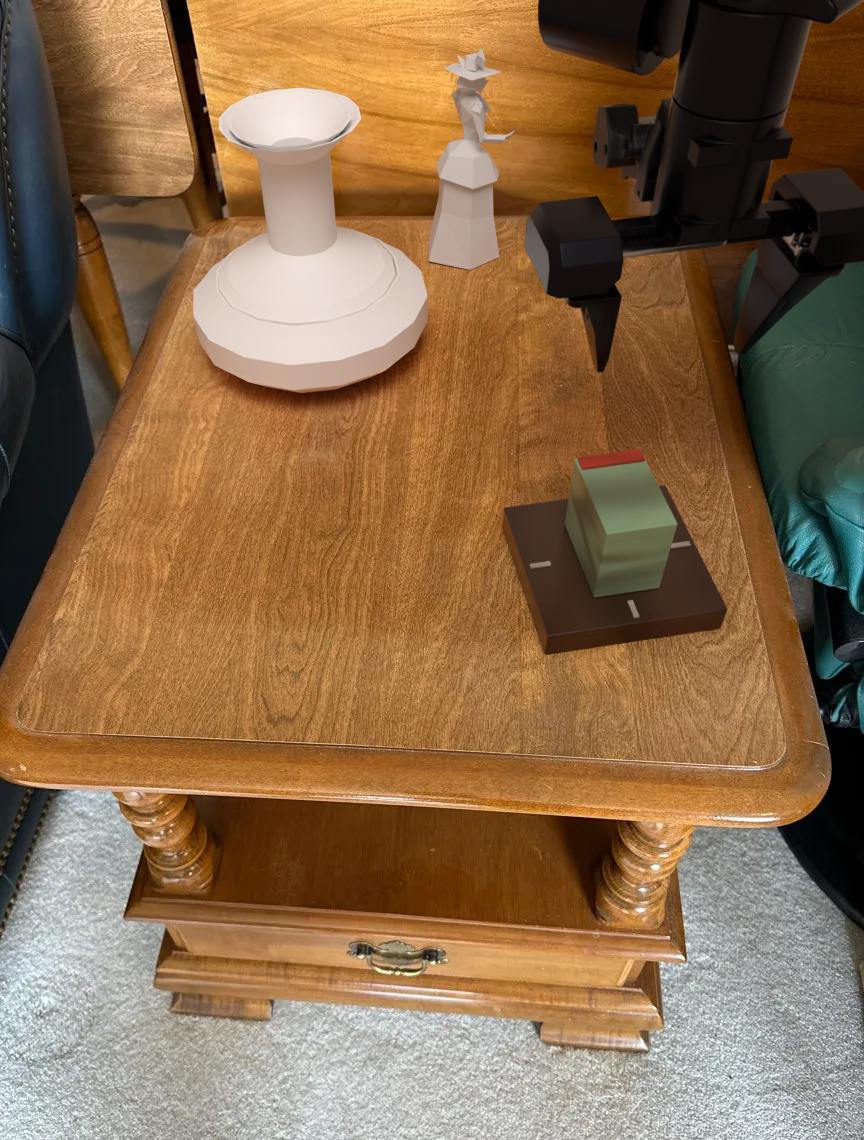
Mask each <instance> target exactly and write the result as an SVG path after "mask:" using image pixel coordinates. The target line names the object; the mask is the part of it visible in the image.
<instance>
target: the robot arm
mask: <svg viewBox="0 0 864 1140" xmlns="http://www.w3.org/2000/svg"><path fill="white" fill-rule="evenodd" d="M863 2H864V0H538V3H537V24H538V30H539V34H540V37H541V40H542V42H543V44H545V45H546V47H547V48H548V49H550V50H553V51H556V52H559V53H563V54H566V55H570V56H572V57H575V58H580V59H583V60H586V61H590V62H592V63H596V64H600V65H604V66H606V67H610V68H613V69H617V70H621V71H624V72H627V73H629V74H634V75H637V76H640V77H641V76H642V77H643V76H647V75H650V74H652V73H653V72H654V71H655V70H656V69H657V68H658V67H659V66H660V65H662V63H663V61H664V60H665V59H666V60H669V59H673V58H674V57H675V56H676V55H677V54H679V57H678V63H677V68H676V73H675V78H674V83H673V88H672V94H671V97H668V98H661V100H660V104H659V106H658V108H657V109H656V115H650V116H649V115H648V116H640V117H639V110H638V105H636V104H635V103H630V104H629V103H625V102H624V103H617V104H616V103H615V104H607V105H598V107H597V112H596V119H595V122H594V123H595V124H594V130H593V136H592V137H593V138H592V139H593V140H592V158H593V159H592V160H593V163H594V165H595V166H596V167H599V168H602V169H606V170H608V169H609V170H610V169H618V168H620V178H621V179H622V180H628V179H629V178H631V179H634V180H635V186H634V191H633V193H634V194H635V196H636V197H637V199H638V200H639V202H640V203H646V202H647V203H648V202H649V205H650V208H649V209H650V210H649V215H644V216H633V217H626V218H618V219H612V218H611V215H610V214H609V213H608V211H607V209H606V208H605V206H604V205H603V203H602V202H601V200H600V198H599V196H598V195H592V196H585V197H576V198H575V197H574V198H565V199H559V200H549V201H541V202H540V201H539V202H538V204H537V205H536V206H535V207H534V208H533V210H532V212H531V213H530V215H529V216H528V217H527V219H526V220H525V231H524V242H523V243H524V244H523V248H524V250H525V252H526V254H527V256H528V258H529V260H530V262H531V265H532V266H533V269H534V271H535V273H536V275H537V277H538V279H539V282H540V283H541V285H542V287H543V290H544V292H545V294H546V295H547V296H550V297H553V298H556V299H559V300H560V299H564V300H565V303H566V305H567V306H569V307H571V308H574V309H580V312H581V317H582V320H583V321H582V322H583V326H584V329H585V335H586V339H587V344H588V349H589V352H590V358H591V361H592V365H593V367H594V369H595V371H596V373H598V374H601V373H604V372H605V370H606V367H607V365H608V363H609V360H610V356H611V352H612V347H613V341H614V337H615V332H616V327H617V323H618V318H619V312H620V307H621V303H622V297H623V296H622V294H621V292H620V290H619V288H618V286H617V285H616V283H617V282H619V281H620V280H621V279H622V272H623V266H624V261H625V260H624V259H627V258H636V257H644V256H652V255H661V254H668V253H677V252H685V251H693V250H694V251H695V250H702V249H710V248H718V247H724V246H726V245H731V244H736V243H737V244H738V243H745V242H747V243H748V242H754V241H757V242H756V243H757V245H756V246H757V247H756V248H757V250H756V252H757V255H756V262H755V266H754V268H753V271H752V275H751V278H750V282H749V284H748V287H747V291H746V294H745V297H744V300H743V304H742V306H741V310H740V313H739V316H738V319H737V323H736V327H735V333H734V338H733V349H734V350H735V352H736V353H737V354H738V355H745V354H747V353H748V352H749V351H750V350H751V349H752V348H753V347H754V346H755V345H756V344H757V343H758V342H759V341H760V340H761V339H762V338H763V337H764V336H765V335H766V334H767V333H768V332H769V331H770V330H771V329H772V328H773V327H774V326H775V325H776V324H777V323H778V322H779V321H780V320H781V319H782V318H783V317H785V316H786V314H788V313H789V312H790V311H791V310H792V309H793V308H795V307H796V306H797V305H798V304H799V303H800V302H801V301H803V300H804V299H805V298H806V297H807V296H808V295H810V294H811V293H813V291H814V290H816V289H817V288H818V287H819V286H820V285H822V284H823V283H824V282H825V281H827V280H828V279H830V278H834V277H839V276H841V275H842V273H843V272H844V270H845V268H846V265H847V264H853V263H854V264H855V263H861V262H864V191H863V190H861V188H860V187H859V186H858V185H857V184H856V183H855V182H854V181H853V180H852V179H851V177H849V176H848V175H847V173H845V172H844V171H843V169H842V168H840V167H834V168H827V169H825V168H824V169H818V170H810V171H809V170H808V171H799V172H791V173H784V174H782V175H781V176H779V177H778V178H777V179H775V180H774V181H773V182H772V184H771V188H770V191H769V194H768V198H767V201H763V198H764V194H765V190H766V187H767V183H768V179H769V176H770V172H771V169H772V165H773V162H774V161H775V160H776V161H777V160H785V159H786V160H787V159H788V157H789V154H790V152H791V147H792V145H793V141H794V137H793V135H792V134H791V133H790V132H789V131H788V130H787V129H786V128H785V127H784V123H785V119H786V115H787V113H788V110H789V109H788V108H789V105H790V101H791V98H792V94H793V91H794V87H795V84H796V80H797V77H798V73H799V70H800V66H801V63H802V59H803V55H804V52H805V49H806V45H807V41H808V37H809V34H810V30H811V28H812V23H813V22H816V23H821V24H825V25H829V24H832V23H833V22H835V21H836V20H838V19H840V18H841V17H842V16H844V15H845V14H847V13H848V12H850V11H851V10H853V9H854V8H855V7H857V6H859V5H860V4H861V3H863Z"/></svg>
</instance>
